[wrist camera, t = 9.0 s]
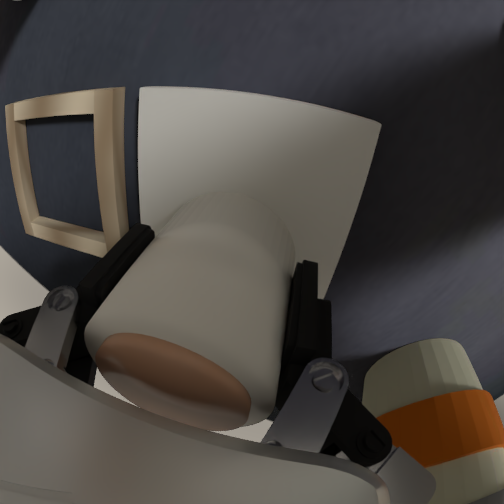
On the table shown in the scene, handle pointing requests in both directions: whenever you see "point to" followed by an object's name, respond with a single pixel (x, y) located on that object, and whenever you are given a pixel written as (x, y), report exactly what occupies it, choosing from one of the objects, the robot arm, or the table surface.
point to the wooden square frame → (106, 156)
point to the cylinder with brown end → (201, 316)
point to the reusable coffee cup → (441, 419)
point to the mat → (256, 161)
